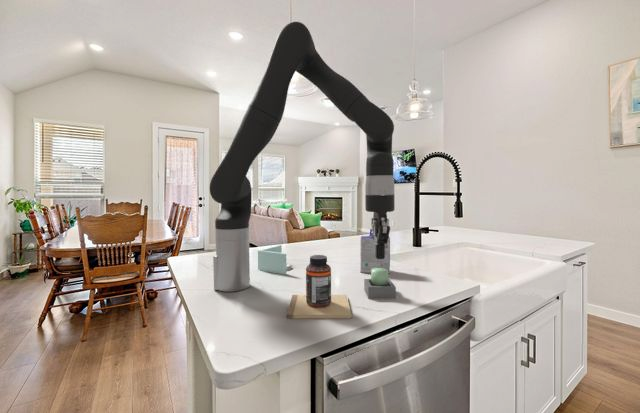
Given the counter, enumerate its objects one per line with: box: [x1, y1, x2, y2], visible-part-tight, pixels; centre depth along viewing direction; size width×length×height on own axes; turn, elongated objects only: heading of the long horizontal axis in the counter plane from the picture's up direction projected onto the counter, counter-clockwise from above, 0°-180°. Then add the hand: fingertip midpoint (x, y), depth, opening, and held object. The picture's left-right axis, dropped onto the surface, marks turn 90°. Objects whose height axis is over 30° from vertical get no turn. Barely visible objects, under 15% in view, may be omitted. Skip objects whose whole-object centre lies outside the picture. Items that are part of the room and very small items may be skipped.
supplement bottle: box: [305, 254, 332, 307], centre depth 68 cm, size 6×6×11 cm
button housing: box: [363, 278, 397, 300], centre depth 77 cm, size 7×7×3 cm
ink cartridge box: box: [360, 228, 391, 275], centre depth 99 cm, size 10×6×14 cm, turn 78°
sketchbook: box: [286, 294, 352, 319], centre depth 68 cm, size 14×12×1 cm
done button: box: [370, 268, 389, 285], centre depth 77 cm, size 4×4×4 cm
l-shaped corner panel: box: [257, 244, 292, 276], centre depth 104 cm, size 12×12×8 cm
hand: (380, 258), depth 77 cm, fingers closed
